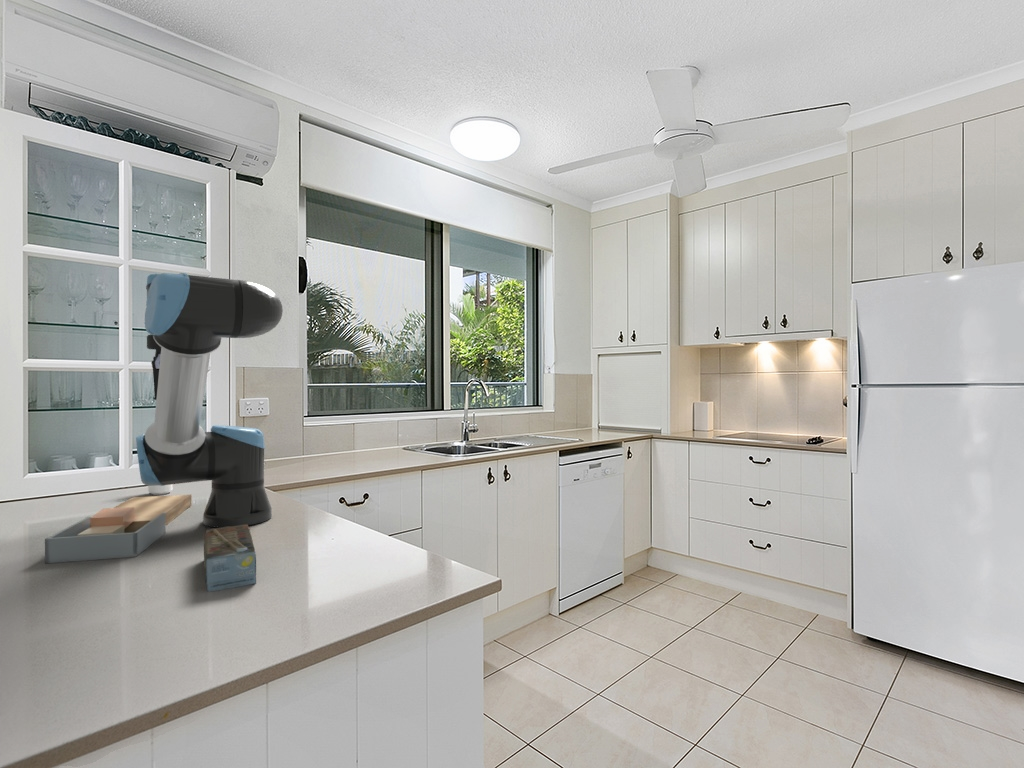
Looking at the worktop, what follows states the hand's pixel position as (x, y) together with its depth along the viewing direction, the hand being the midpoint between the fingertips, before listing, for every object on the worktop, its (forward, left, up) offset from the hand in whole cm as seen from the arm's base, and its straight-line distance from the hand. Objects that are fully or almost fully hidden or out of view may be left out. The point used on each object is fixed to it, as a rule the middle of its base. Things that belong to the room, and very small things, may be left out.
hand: (164, 424), depth 143 cm
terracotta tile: (+2, +25, -20) cm, 32 cm away
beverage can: (+8, -25, -23) cm, 35 cm away
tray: (0, +32, -23) cm, 39 cm away
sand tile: (+2, +31, -22) cm, 38 cm away
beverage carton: (-26, +53, -23) cm, 64 cm away
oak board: (+2, +9, -23) cm, 25 cm away
